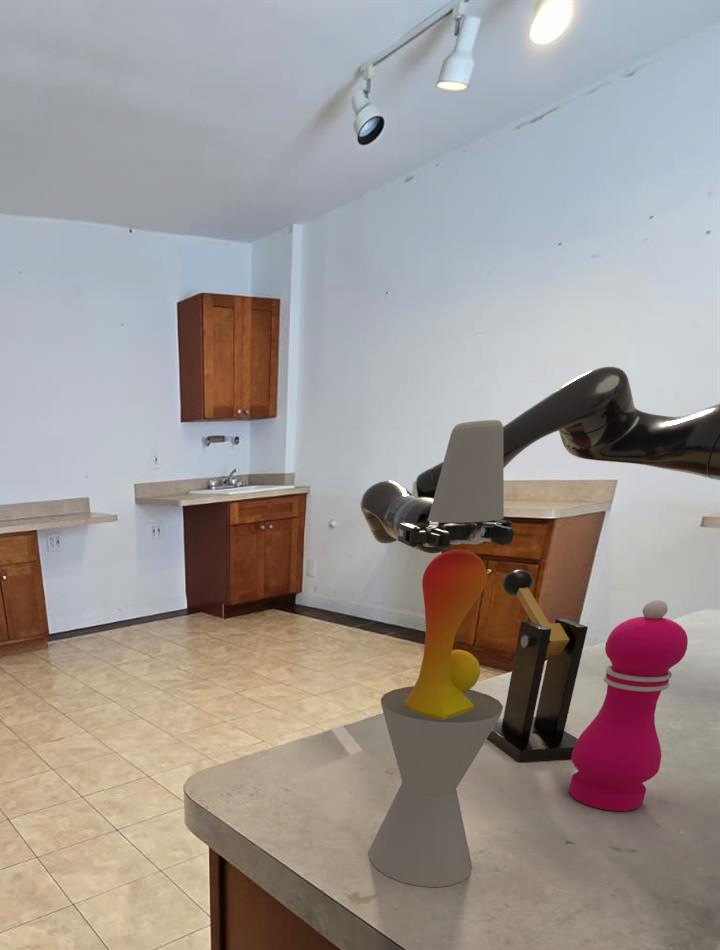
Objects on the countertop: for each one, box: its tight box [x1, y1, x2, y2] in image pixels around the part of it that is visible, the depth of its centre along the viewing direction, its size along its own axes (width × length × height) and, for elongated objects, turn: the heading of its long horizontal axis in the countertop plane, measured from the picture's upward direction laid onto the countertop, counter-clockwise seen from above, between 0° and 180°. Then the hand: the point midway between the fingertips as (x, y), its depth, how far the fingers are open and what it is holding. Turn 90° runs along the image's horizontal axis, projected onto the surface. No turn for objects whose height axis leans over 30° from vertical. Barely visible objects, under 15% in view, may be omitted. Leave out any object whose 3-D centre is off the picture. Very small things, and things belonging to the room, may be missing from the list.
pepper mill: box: [568, 599, 689, 812], centre depth 61 cm, size 7×7×20 cm
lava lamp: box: [367, 419, 505, 888], centre depth 50 cm, size 9×9×35 cm
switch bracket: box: [486, 618, 589, 763], centre depth 75 cm, size 10×8×15 cm
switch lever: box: [502, 569, 570, 657], centre depth 76 cm, size 13×3×3 cm, turn 1°
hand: (478, 539), depth 86 cm, fingers open, 8 cm apart
